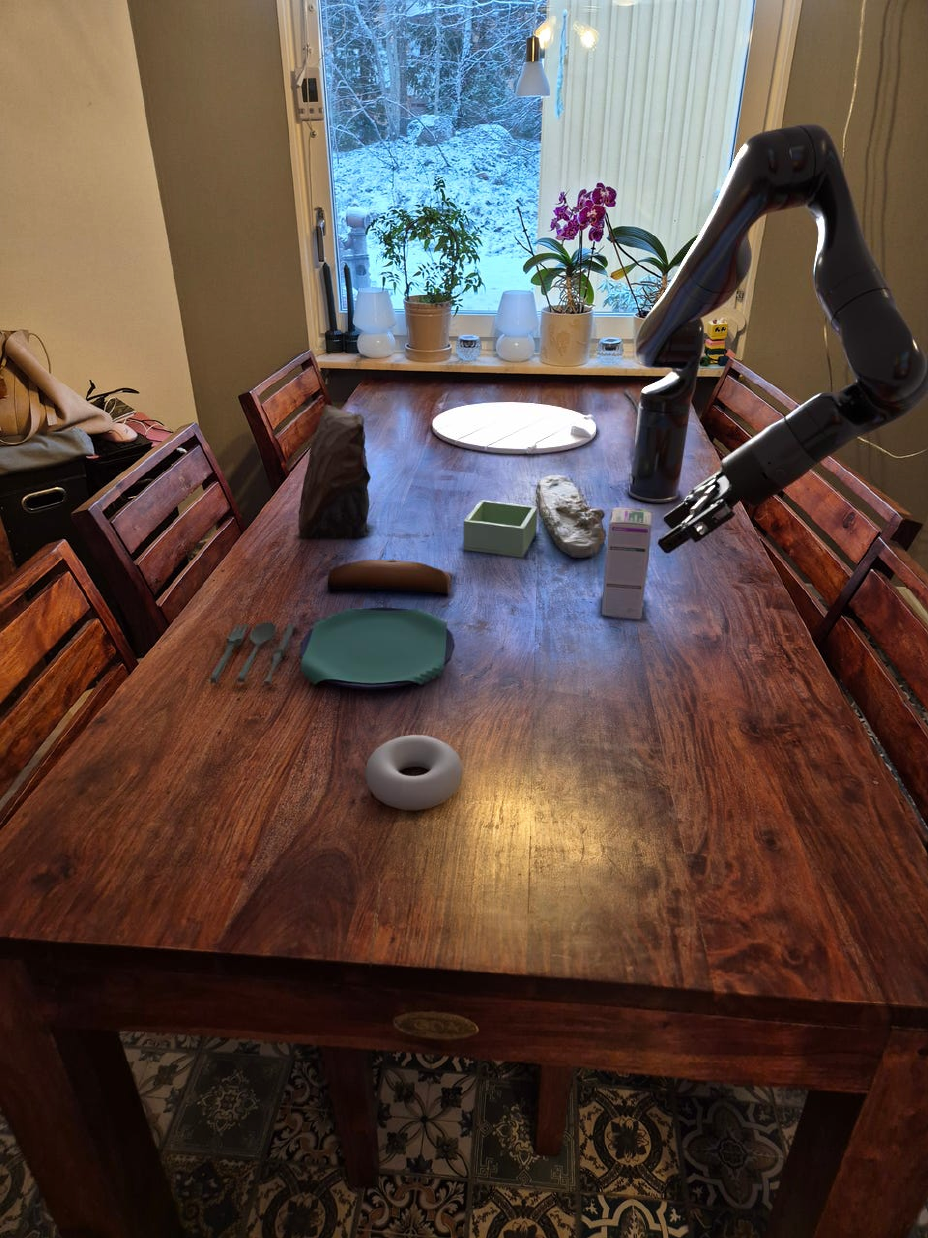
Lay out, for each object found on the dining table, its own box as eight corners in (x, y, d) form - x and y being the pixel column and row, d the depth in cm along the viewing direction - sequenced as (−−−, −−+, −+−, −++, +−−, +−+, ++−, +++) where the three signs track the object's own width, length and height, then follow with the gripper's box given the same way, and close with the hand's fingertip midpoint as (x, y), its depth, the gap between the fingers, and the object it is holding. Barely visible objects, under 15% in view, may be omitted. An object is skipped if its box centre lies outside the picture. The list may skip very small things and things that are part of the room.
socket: (479, 527, 144) (480, 499, 141) (536, 534, 141) (537, 506, 138) (463, 549, 135) (463, 521, 133) (522, 557, 133) (523, 528, 130)
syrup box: (641, 620, 115) (654, 524, 108) (599, 616, 116) (609, 521, 109) (642, 601, 120) (654, 509, 113) (601, 597, 121) (611, 505, 114)
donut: (458, 752, 89) (366, 755, 88) (459, 726, 87) (365, 729, 87) (466, 816, 80) (364, 820, 80) (467, 789, 79) (363, 793, 78)
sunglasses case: (452, 570, 127) (450, 546, 121) (449, 609, 123) (447, 586, 118) (338, 566, 128) (331, 542, 122) (332, 605, 124) (324, 581, 119)
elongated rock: (577, 493, 162) (527, 496, 162) (577, 467, 160) (526, 470, 159) (617, 559, 131) (555, 563, 130) (618, 528, 128) (555, 532, 128)
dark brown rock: (323, 510, 149) (315, 401, 140) (389, 517, 147) (385, 406, 137) (295, 537, 139) (283, 421, 129) (365, 545, 136) (358, 427, 126)
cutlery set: (452, 702, 97) (452, 685, 96) (201, 697, 97) (198, 681, 96) (456, 619, 114) (456, 605, 113) (243, 616, 115) (241, 602, 114)
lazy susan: (624, 422, 201) (626, 409, 200) (552, 465, 173) (553, 450, 171) (486, 399, 220) (486, 386, 218) (400, 434, 191) (399, 419, 189)
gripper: (750, 424, 107) (651, 496, 116) (751, 456, 96) (641, 534, 104) (785, 467, 109) (684, 535, 117) (789, 504, 97) (677, 577, 105)
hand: (664, 535), depth 111 cm, fingers open, 8 cm apart
